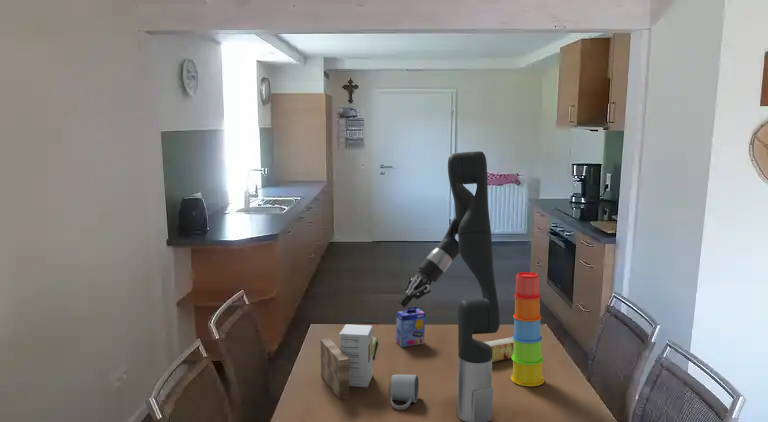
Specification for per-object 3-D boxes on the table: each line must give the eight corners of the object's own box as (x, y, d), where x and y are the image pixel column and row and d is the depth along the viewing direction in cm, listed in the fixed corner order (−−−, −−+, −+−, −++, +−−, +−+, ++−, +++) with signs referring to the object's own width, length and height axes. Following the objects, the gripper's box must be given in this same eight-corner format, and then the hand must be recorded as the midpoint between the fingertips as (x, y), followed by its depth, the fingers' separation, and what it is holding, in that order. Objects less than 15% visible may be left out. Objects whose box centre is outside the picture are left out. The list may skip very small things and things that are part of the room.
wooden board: (349, 397, 167) (348, 358, 165) (339, 399, 166) (339, 360, 164) (329, 373, 183) (329, 338, 182) (320, 374, 182) (320, 339, 180)
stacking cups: (514, 387, 174) (519, 278, 169) (507, 373, 184) (511, 270, 179) (547, 387, 174) (553, 279, 169) (539, 373, 184) (543, 270, 179)
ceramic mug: (392, 392, 171) (392, 368, 169) (419, 394, 169) (419, 370, 168) (385, 409, 160) (385, 384, 159) (413, 412, 159) (413, 387, 157)
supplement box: (367, 387, 173) (368, 335, 171) (338, 385, 175) (338, 333, 172) (373, 374, 183) (373, 324, 180) (345, 372, 184) (345, 323, 182)
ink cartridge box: (401, 347, 205) (402, 309, 203) (395, 342, 210) (395, 305, 208) (425, 343, 209) (426, 306, 207) (418, 338, 214) (418, 302, 212)
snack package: (520, 349, 205) (521, 331, 204) (532, 356, 199) (533, 338, 198) (472, 359, 195) (472, 341, 194) (483, 367, 190) (484, 347, 189)
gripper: (418, 253, 189) (385, 292, 186) (438, 261, 177) (403, 304, 174) (432, 267, 192) (399, 306, 188) (452, 276, 180) (418, 318, 177)
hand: (401, 305), depth 181 cm, fingers closed
